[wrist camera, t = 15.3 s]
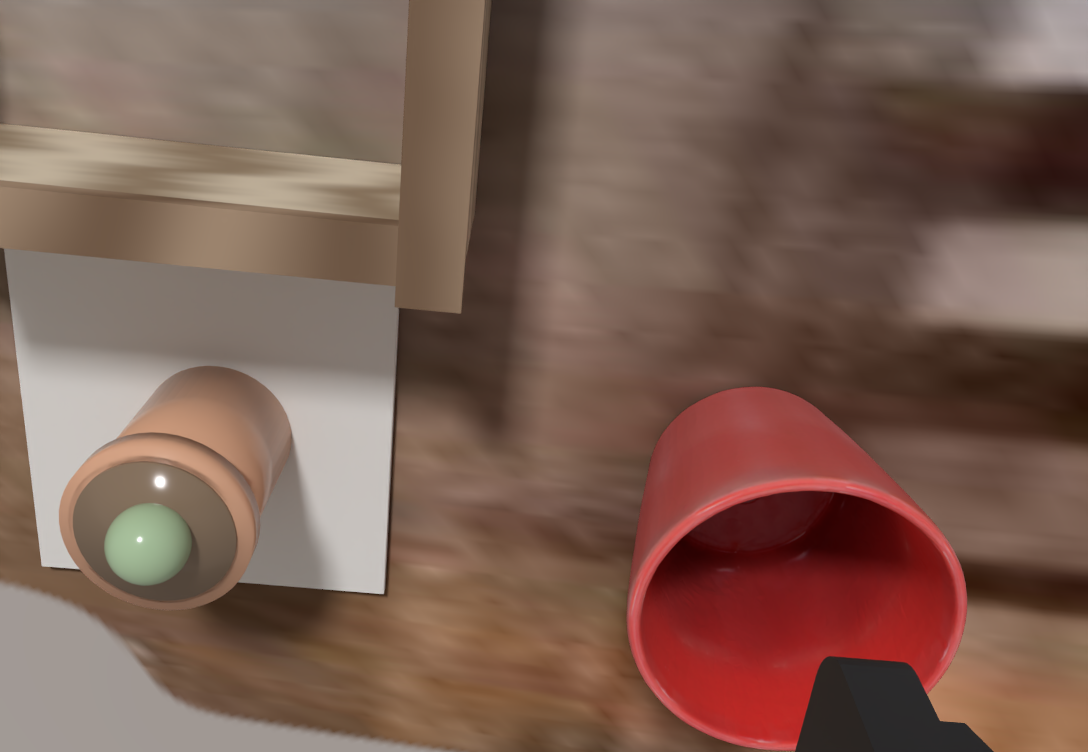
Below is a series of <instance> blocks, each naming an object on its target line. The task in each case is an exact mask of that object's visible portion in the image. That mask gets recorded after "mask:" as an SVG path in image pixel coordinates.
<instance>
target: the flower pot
mask: <svg viewBox="0 0 1088 752" xmlns="http://www.w3.org/2000/svg"><path fill="white" fill-rule="evenodd" d="M966 614H967V593H966V584H965V579H964V575H963V571H962V568H961V565H960V563H959V561H958V558H957V556H956V554H955V552H954V550H953V548H952V547H951V545H950V543H949V542H948V540H947V539H946V537H945V536H944V534H943V533H942V532H941V531H940V530H939V528H938V527H937V526H936V525H935V523H934V522H933V521H932V520H931V519H930V518H929V517H928V516H927V515H926V513H925V512H924V511H923V510H922V509H921V508H920V507H919V506H918V505H917V504H916V503H915V502H914V501H913V500H912V499H911V497H910V496H909V495H908V494H907V493H906V492H905V491H904V490H903V489H902V488H901V487H900V486H899V485H898V484H897V483H896V482H895V481H894V480H893V479H892V478H891V477H890V476H889V475H888V474H887V473H886V472H885V471H884V470H883V469H882V468H881V467H880V466H879V465H878V464H877V463H876V462H875V461H874V460H873V459H872V458H871V457H870V456H869V455H868V454H867V453H866V452H865V451H864V450H863V449H862V448H861V447H859V446H858V445H857V444H856V443H855V442H854V441H853V440H852V439H851V438H850V437H849V436H848V435H847V434H846V433H844V432H843V431H842V430H841V429H840V428H839V427H838V426H837V425H835V424H834V423H833V422H832V421H831V420H830V419H828V418H827V417H826V416H825V415H824V414H823V413H822V412H821V411H819V410H818V409H817V408H816V407H814V406H813V405H812V404H810V403H809V402H807V401H805V400H804V399H802V398H800V397H798V396H796V395H793V394H791V393H789V392H786V391H782V390H778V389H774V388H767V387H742V388H735V389H729V390H725V391H721V392H719V393H716V394H713V395H711V396H709V397H707V398H704V399H702V400H700V401H699V402H697V403H695V404H694V405H692V406H690V407H688V408H687V409H686V410H685V411H683V412H682V413H681V414H680V415H678V416H677V417H676V418H675V419H674V420H673V421H672V422H671V423H670V425H669V426H668V427H667V428H666V430H665V431H664V432H663V434H662V435H661V437H660V439H659V440H658V442H657V444H656V447H655V449H654V451H653V454H652V457H651V461H650V465H649V470H648V475H647V480H646V484H645V490H644V494H643V499H642V505H641V510H640V515H639V521H638V527H637V534H636V541H635V548H634V554H633V560H632V567H631V574H630V582H629V590H628V598H627V632H628V639H629V644H630V648H631V652H632V655H633V657H634V660H635V662H636V665H637V667H638V670H639V671H640V673H641V675H642V677H643V679H644V681H645V682H646V684H647V685H648V687H649V688H650V689H651V690H652V692H653V693H654V694H655V695H656V697H657V698H658V699H659V700H660V701H661V702H662V703H663V704H664V705H665V706H666V707H667V708H668V709H669V710H670V711H671V712H672V713H673V714H674V715H676V716H677V717H678V718H680V719H681V720H682V721H684V722H685V723H687V724H688V725H690V726H692V727H693V728H695V729H697V730H699V731H701V732H703V733H706V734H708V735H709V736H712V737H714V738H717V739H720V740H723V741H726V742H728V743H732V744H735V745H739V746H744V747H749V748H756V749H762V750H775V751H782V750H784V751H795V750H796V746H797V742H798V739H799V735H800V732H801V728H802V724H803V721H804V717H805V713H806V710H807V706H808V703H809V699H810V695H811V692H812V688H813V685H814V681H815V677H816V674H817V671H818V668H819V666H820V664H821V662H822V661H823V660H824V659H825V658H826V657H828V656H835V657H847V658H860V659H872V660H885V661H897V662H905V663H908V664H909V665H910V666H911V667H912V668H913V669H914V670H915V672H916V674H917V675H918V677H919V679H920V682H921V684H922V686H923V688H924V690H925V692H926V694H928V693H929V692H930V691H931V689H932V688H933V687H934V686H935V685H936V684H937V683H938V681H939V680H940V679H941V678H942V676H943V675H944V673H945V672H946V670H947V669H948V667H949V665H950V664H951V662H952V660H953V658H954V656H955V654H956V652H957V649H958V647H959V644H960V642H961V638H962V635H963V631H964V626H965V621H966Z"/></svg>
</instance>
